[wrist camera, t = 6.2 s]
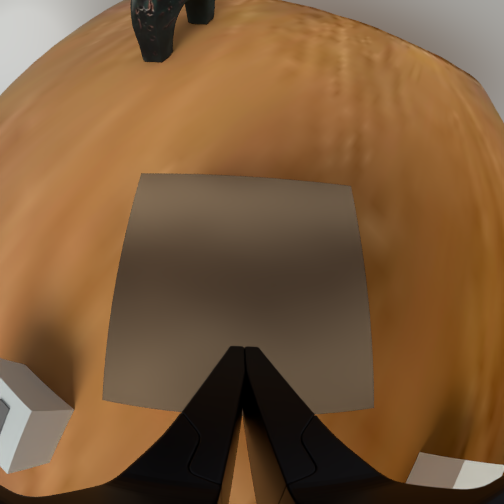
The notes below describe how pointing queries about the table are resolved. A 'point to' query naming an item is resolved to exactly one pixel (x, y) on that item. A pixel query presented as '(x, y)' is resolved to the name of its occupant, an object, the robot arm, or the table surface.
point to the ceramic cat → (164, 23)
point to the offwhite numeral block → (452, 472)
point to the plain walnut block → (240, 290)
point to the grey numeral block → (28, 418)
